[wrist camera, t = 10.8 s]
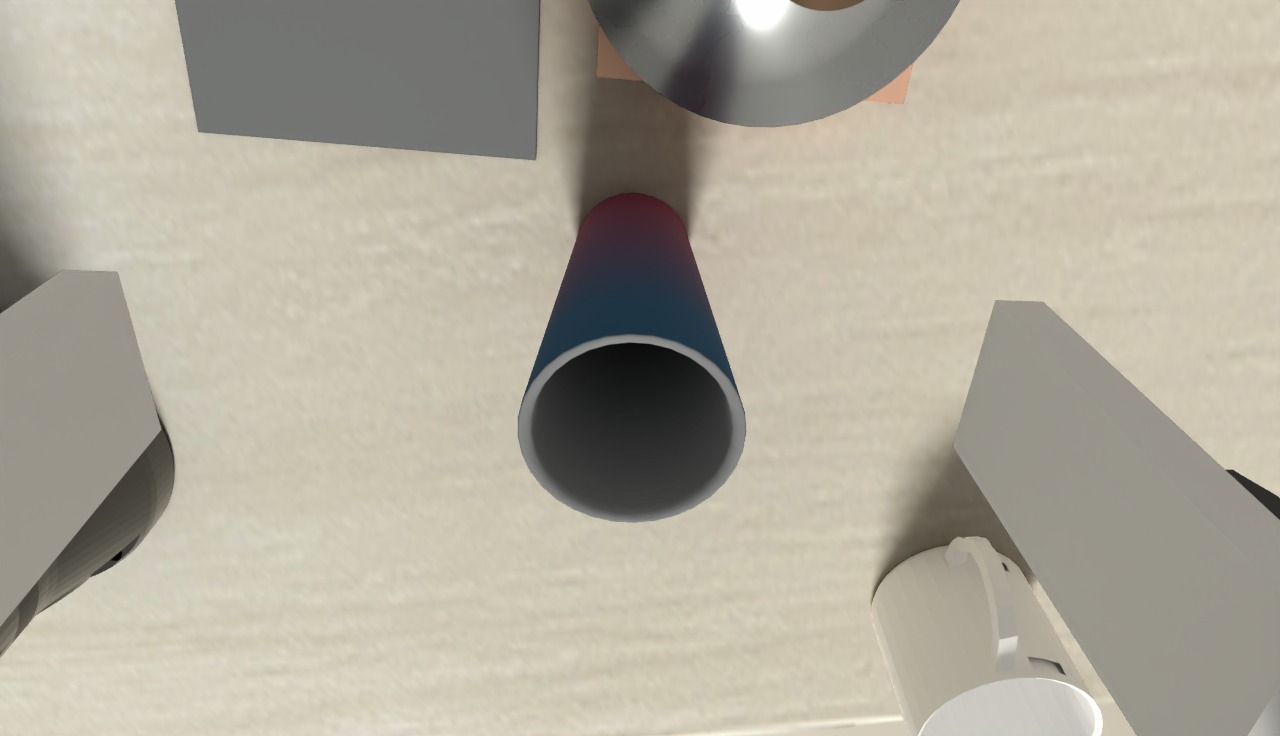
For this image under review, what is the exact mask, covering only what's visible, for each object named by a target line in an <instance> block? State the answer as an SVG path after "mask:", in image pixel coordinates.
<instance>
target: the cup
mask: <svg viewBox="0 0 1280 736" xmlns="http://www.w3.org/2000/svg"><path fill="white" fill-rule="evenodd" d="M745 436H746V422H745V412H744V409H743V406H742V402H741V399H740V396H739V393H738V390H737V387H736V384H735V380H734V377H733V374H732V371H731V368H730V365H729V362H728V359H727V356H726V353H725V350H724V347H723V344H722V341H721V338H720V335H719V332H718V328H717V325H716V322H715V319H714V316H713V313H712V310H711V307H710V304H709V301H708V298H707V295H706V292H705V289H704V286H703V283H702V280H701V276H700V273H699V270H698V267H697V264H696V261H695V258H694V255H693V252H692V249H691V246H690V243H689V240H688V237H687V234H686V231H685V228H684V225H683V223H682V221H681V220H680V218H679V216H678V215H677V214H676V213H675V212H674V210H673V209H672V208H671V207H669V206H668V205H667V204H665V203H664V202H662V201H660V200H658V199H656V198H654V197H652V196H648V195H644V194H636V193H628V194H620V195H617V196H614V197H611V198H608V199H607V200H605V201H603V202H601V203H599V204H598V205H597V206H596V207H595V208H594V209H592V210H591V212H590V213H589V214H588V215H587V217H586V218H585V220H584V222H583V224H582V226H581V228H580V231H579V234H578V236H577V239H576V242H575V245H574V248H573V251H572V254H571V257H570V260H569V263H568V266H567V269H566V272H565V275H564V278H563V281H562V284H561V287H560V290H559V293H558V296H557V299H556V302H555V305H554V308H553V311H552V314H551V317H550V320H549V323H548V326H547V328H546V331H545V334H544V337H543V340H542V343H541V346H540V349H539V352H538V355H537V358H536V361H535V364H534V367H533V370H532V373H531V376H530V379H529V382H528V385H527V388H526V391H525V394H524V397H523V400H522V404H521V408H520V412H519V416H518V439H519V443H520V448H521V452H522V455H523V457H524V459H525V461H526V463H527V466H528V468H529V470H530V472H531V473H532V474H533V476H534V477H535V478H536V479H537V481H538V482H539V483H540V485H541V486H542V487H543V488H544V489H545V490H547V491H548V492H549V493H550V494H551V495H552V496H554V497H555V498H556V499H557V500H559V501H560V502H562V503H564V504H565V505H567V506H569V507H570V508H572V509H574V510H576V511H579V512H581V513H584V514H587V515H589V516H592V517H595V518H600V519H605V520H609V521H615V522H632V523H636V522H647V521H656V520H660V519H664V518H668V517H672V516H675V515H678V514H680V513H682V512H685V511H687V510H689V509H692V508H694V507H695V506H697V505H698V504H700V503H702V502H703V501H705V500H706V499H708V498H709V497H711V496H712V495H713V494H714V493H715V492H716V491H717V490H718V489H719V488H720V487H721V486H722V485H723V484H724V483H725V482H726V481H727V479H728V478H729V476H730V475H731V474H732V472H733V471H734V469H735V468H736V466H737V463H738V461H739V458H740V456H741V454H742V451H743V447H744V441H745Z"/></svg>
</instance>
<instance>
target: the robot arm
mask: <svg viewBox="0 0 1280 736" xmlns="http://www.w3.org/2000/svg"><path fill="white" fill-rule="evenodd" d="M953 448H954V449H955V451H956V452H957V454H958V455H959V457H960V459H961V460H962V462H963V463H964V465H965V466H966V468H967V470H968V471H969V473H970V474H971V476H972V477H973V479H974V480H975V482H976V484H977V485H978V487H979V488H980V490H981V491H982V493H983V495H984V496H985V498H986V499H987V501H988V502H989V504H990V506H991V507H992V509H993V510H994V512H995V513H996V515H997V517H998V518H999V520H1000V521H1001V523H1002V524H1003V526H1004V528H1005V529H1006V531H1007V532H1008V534H1009V535H1010V537H1011V539H1012V540H1013V542H1014V543H1015V545H1016V546H1017V548H1018V550H1019V551H1020V553H1021V554H1022V556H1023V557H1024V559H1025V561H1026V562H1027V564H1028V565H1029V567H1030V568H1031V570H1032V572H1033V573H1034V575H1035V576H1036V578H1037V579H1038V581H1039V583H1040V584H1041V586H1042V587H1043V589H1044V590H1045V592H1046V594H1047V595H1048V597H1049V598H1050V600H1051V601H1052V603H1053V605H1054V606H1055V608H1056V609H1057V611H1058V612H1059V614H1060V616H1061V617H1062V619H1063V620H1064V622H1065V623H1066V625H1067V627H1068V628H1069V630H1070V631H1071V633H1072V634H1073V636H1074V638H1075V639H1076V641H1077V642H1078V644H1079V645H1080V647H1081V649H1082V650H1083V652H1084V653H1085V655H1086V656H1087V658H1088V660H1089V661H1090V663H1091V664H1092V666H1093V667H1094V669H1095V671H1096V672H1097V674H1098V675H1099V677H1100V678H1101V680H1102V682H1103V683H1104V685H1105V686H1106V688H1107V689H1108V691H1109V692H1110V694H1111V696H1112V697H1113V699H1114V700H1115V702H1116V703H1117V705H1118V707H1119V708H1120V710H1121V711H1122V713H1123V714H1124V716H1125V718H1126V719H1127V721H1128V722H1129V724H1130V725H1131V727H1132V728H1133V730H1134V732H1135V733H1136V735H1137V736H1280V498H1279V497H1278V496H1276V495H1275V494H1273V493H1271V492H1270V491H1268V490H1266V489H1264V488H1263V487H1261V486H1259V485H1258V484H1256V483H1254V482H1252V481H1251V480H1249V479H1247V478H1246V477H1244V476H1242V475H1240V474H1239V473H1237V472H1235V471H1234V470H1225V469H1224V468H1223V467H1222V466H1221V465H1219V464H1218V463H1217V462H1216V461H1215V460H1214V459H1213V458H1212V457H1211V456H1210V455H1209V454H1208V453H1206V452H1205V451H1204V450H1203V449H1202V448H1201V447H1200V446H1199V445H1198V444H1197V443H1196V442H1195V441H1193V440H1192V439H1191V438H1190V437H1189V436H1188V435H1187V434H1186V433H1185V432H1184V431H1183V430H1182V429H1180V428H1179V427H1178V426H1177V425H1176V424H1175V423H1174V422H1173V421H1172V420H1171V419H1170V418H1169V417H1167V416H1166V415H1165V414H1164V413H1163V412H1162V411H1161V410H1160V409H1159V408H1158V407H1157V406H1156V405H1154V404H1153V403H1152V402H1151V401H1150V400H1149V399H1148V398H1147V397H1146V396H1145V395H1144V394H1143V393H1141V392H1140V391H1139V390H1138V389H1137V388H1136V387H1135V386H1134V385H1133V384H1132V383H1131V382H1130V381H1128V380H1127V379H1126V378H1125V377H1124V376H1123V375H1122V374H1121V373H1120V372H1119V371H1118V370H1117V369H1115V368H1114V367H1113V366H1112V365H1111V364H1110V363H1109V362H1108V361H1107V360H1106V359H1105V358H1104V357H1102V356H1101V355H1100V354H1099V353H1098V352H1097V351H1096V350H1095V349H1094V348H1093V347H1092V346H1091V345H1089V344H1088V343H1087V342H1086V341H1085V340H1084V339H1083V338H1082V337H1081V336H1080V335H1079V334H1078V333H1076V332H1075V331H1074V330H1073V329H1072V328H1071V327H1070V326H1069V325H1068V324H1067V323H1066V322H1065V321H1063V320H1062V319H1061V318H1060V317H1059V316H1058V315H1057V314H1056V313H1055V312H1054V311H1053V310H1052V309H1050V308H1049V307H1048V306H1047V305H1046V304H1045V303H1044V302H1034V301H1003V300H995V303H994V307H993V310H992V314H991V317H990V320H989V324H988V327H987V331H986V334H985V338H984V341H983V344H982V348H981V351H980V355H979V358H978V361H977V365H976V368H975V372H974V375H973V379H972V382H971V385H970V389H969V392H968V396H967V399H966V402H965V406H964V409H963V413H962V416H961V420H960V423H959V426H958V430H957V433H956V437H955V440H954V443H953ZM173 483H174V465H173V459H172V453H171V450H170V446H169V443H168V441H167V438H166V435H165V433H164V431H163V429H162V427H161V425H160V422H159V419H158V415H157V412H156V408H155V404H154V401H153V397H152V394H151V390H150V387H149V383H148V379H147V376H146V372H145V369H144V365H143V361H142V358H141V354H140V351H139V347H138V343H137V340H136V336H135V333H134V329H133V325H132V322H131V318H130V315H129V311H128V307H127V304H126V300H125V297H124V293H123V289H122V286H121V282H120V279H119V275H118V272H109V271H78V270H62V271H60V272H59V273H58V274H56V275H55V276H53V277H52V278H50V279H49V280H48V281H46V282H45V283H43V284H42V285H40V286H39V287H38V288H36V289H35V290H33V291H32V292H30V293H29V294H28V295H26V296H25V297H23V298H22V299H21V300H19V301H18V302H16V303H15V304H13V305H12V306H11V307H9V308H8V309H6V310H5V311H3V312H2V313H1V314H0V658H1V656H2V655H3V654H4V653H5V652H6V650H7V649H8V648H9V647H10V645H11V644H12V643H13V642H14V640H15V639H16V638H17V637H18V636H19V634H20V633H21V632H22V631H23V630H24V629H25V627H26V626H27V625H28V624H29V622H30V621H31V620H32V619H33V618H34V617H35V616H36V615H37V614H39V613H40V612H42V611H43V610H45V609H47V608H48V607H50V606H51V605H53V604H55V603H56V602H58V601H59V600H61V599H62V598H64V597H65V596H67V595H68V594H70V593H71V592H72V591H74V590H75V589H77V588H78V587H79V586H81V585H82V584H83V583H84V582H85V581H87V580H88V579H89V578H90V577H92V576H94V575H97V574H99V573H101V572H103V571H105V570H107V569H109V568H111V567H113V566H114V565H116V564H117V563H119V562H120V561H121V560H123V559H124V558H126V557H127V556H128V555H129V554H130V553H131V552H132V551H133V550H135V549H136V548H137V546H138V545H139V544H140V543H141V542H142V541H143V539H144V538H145V537H146V535H147V534H148V533H149V531H150V530H151V529H152V528H153V526H154V525H155V524H156V522H157V521H158V520H159V518H160V517H161V516H162V514H163V512H164V511H165V509H166V507H167V505H168V503H169V500H170V497H171V494H172V490H173Z"/></svg>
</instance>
